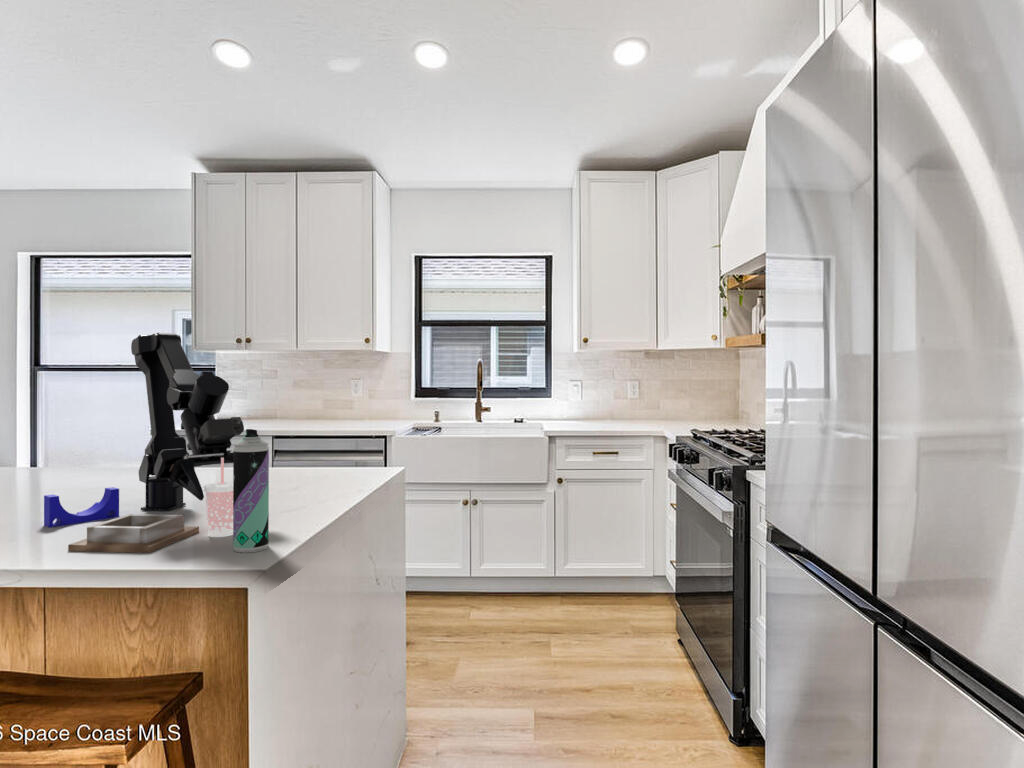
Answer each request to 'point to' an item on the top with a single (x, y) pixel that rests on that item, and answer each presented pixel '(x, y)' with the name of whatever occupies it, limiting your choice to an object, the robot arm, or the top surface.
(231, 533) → the beverage cup
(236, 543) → the spray can
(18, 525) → the top surface
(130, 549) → the cup holder board
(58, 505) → the blue curved cradle bracket
